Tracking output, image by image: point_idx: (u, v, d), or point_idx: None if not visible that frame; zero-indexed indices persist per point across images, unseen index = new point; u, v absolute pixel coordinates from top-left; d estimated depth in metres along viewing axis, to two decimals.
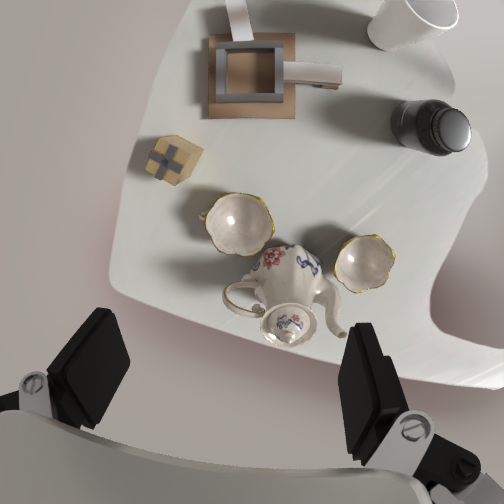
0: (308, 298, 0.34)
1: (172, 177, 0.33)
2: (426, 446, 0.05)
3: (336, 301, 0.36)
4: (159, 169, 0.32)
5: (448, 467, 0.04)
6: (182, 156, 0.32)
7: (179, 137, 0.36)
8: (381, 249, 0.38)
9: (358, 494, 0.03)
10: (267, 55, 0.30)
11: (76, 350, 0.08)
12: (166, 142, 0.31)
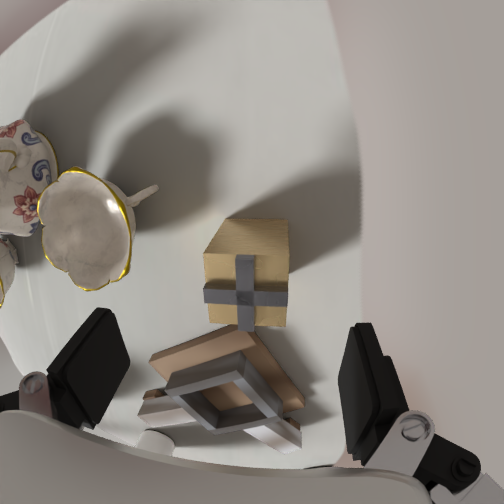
0: None
1: (217, 268, 0.15)
2: (426, 446, 0.05)
3: None
4: (249, 280, 0.15)
5: (448, 467, 0.04)
6: (221, 313, 0.16)
7: None
8: None
9: (358, 494, 0.03)
10: (225, 407, 0.28)
11: (76, 350, 0.08)
12: (266, 323, 0.16)
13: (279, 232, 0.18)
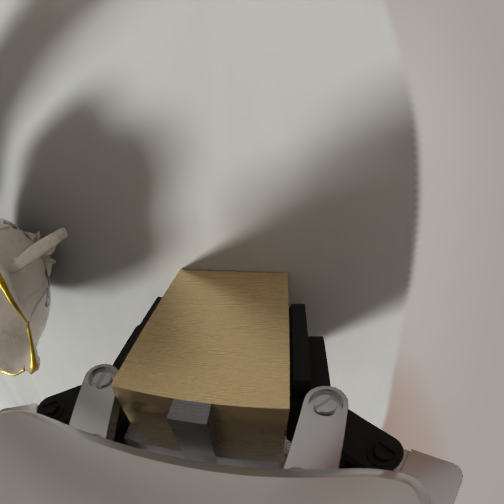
0: None
1: (142, 409, 0.06)
2: (345, 416, 0.06)
3: None
4: (204, 445, 0.06)
5: (363, 448, 0.06)
6: None
7: None
8: None
9: (358, 494, 0.03)
10: None
11: None
12: None
13: (271, 315, 0.09)
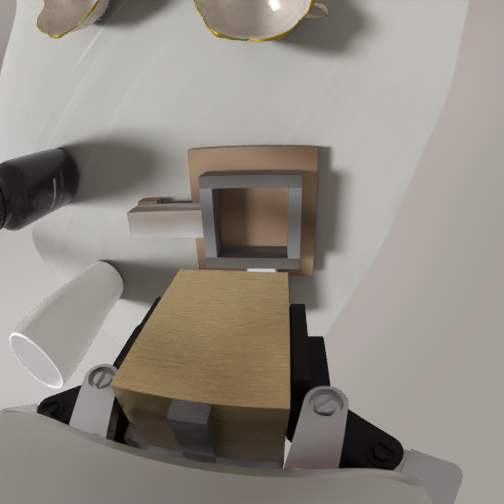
0: None
1: (142, 409, 0.06)
2: (345, 416, 0.06)
3: None
4: (204, 445, 0.06)
5: (363, 448, 0.06)
6: None
7: None
8: (59, 24, 0.17)
9: (358, 494, 0.03)
10: (231, 242, 0.27)
11: None
12: None
13: (271, 315, 0.09)
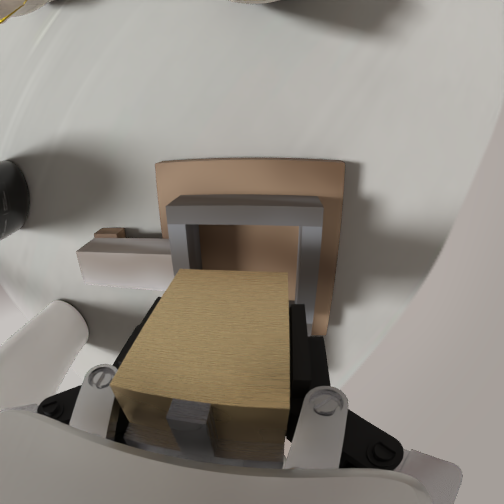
0: None
1: (142, 409, 0.06)
2: (344, 416, 0.06)
3: None
4: (204, 445, 0.06)
5: (363, 448, 0.06)
6: None
7: None
8: (11, 8, 0.09)
9: (358, 494, 0.03)
10: None
11: None
12: None
13: (271, 314, 0.09)
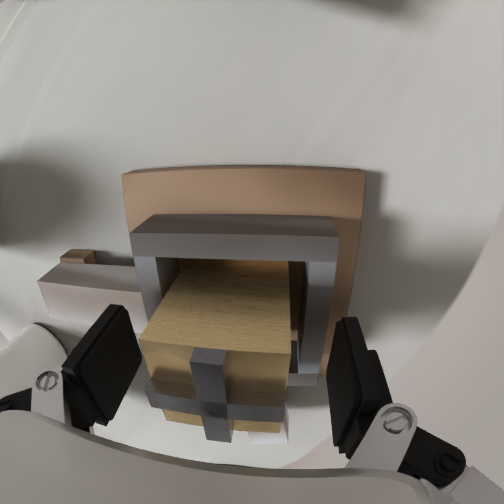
0: None
1: (165, 362, 0.08)
2: (410, 438, 0.05)
3: None
4: (218, 390, 0.08)
5: (431, 461, 0.05)
6: (180, 413, 0.09)
7: None
8: None
9: (358, 494, 0.03)
10: None
11: (91, 346, 0.08)
12: (250, 429, 0.09)
13: (274, 286, 0.11)
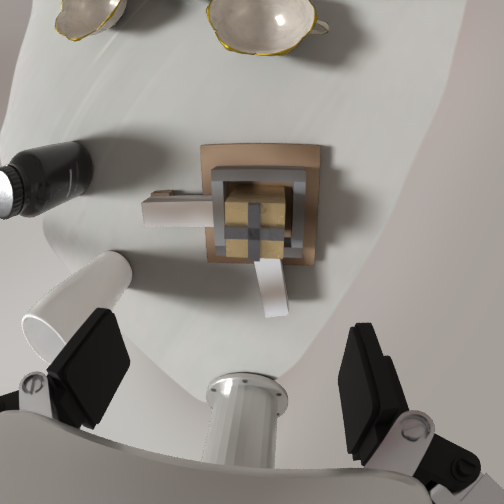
0: None
1: (234, 213, 0.21)
2: (426, 446, 0.05)
3: None
4: (257, 220, 0.21)
5: (448, 467, 0.04)
6: (235, 248, 0.23)
7: None
8: (76, 26, 0.19)
9: (358, 494, 0.03)
10: None
11: (76, 350, 0.08)
12: (268, 256, 0.23)
13: (278, 192, 0.24)
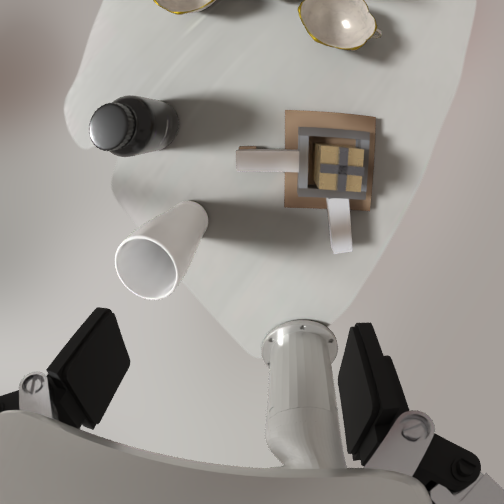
0: None
1: (327, 154, 0.27)
2: (426, 446, 0.05)
3: None
4: (346, 159, 0.26)
5: (448, 467, 0.04)
6: (326, 182, 0.28)
7: None
8: (170, 4, 0.24)
9: (358, 494, 0.03)
10: (313, 181, 0.34)
11: (76, 350, 0.08)
12: (350, 189, 0.28)
13: (350, 146, 0.29)
